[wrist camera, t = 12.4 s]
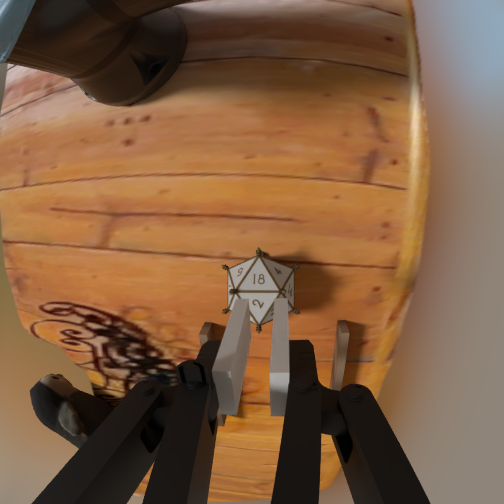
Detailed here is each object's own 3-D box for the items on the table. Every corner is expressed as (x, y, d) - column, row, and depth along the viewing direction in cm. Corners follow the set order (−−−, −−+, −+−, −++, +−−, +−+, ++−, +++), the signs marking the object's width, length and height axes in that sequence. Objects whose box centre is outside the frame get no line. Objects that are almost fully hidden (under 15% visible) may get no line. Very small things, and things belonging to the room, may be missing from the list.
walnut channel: (204, 322, 36) (198, 334, 33) (345, 320, 34) (349, 332, 31) (221, 412, 41) (217, 425, 38) (331, 412, 39) (333, 426, 36)
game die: (273, 253, 36) (323, 247, 27) (273, 319, 36) (323, 331, 27) (206, 251, 33) (240, 243, 24) (207, 324, 32) (240, 343, 23)
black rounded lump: (136, 418, 52) (119, 466, 43) (60, 380, 51) (41, 424, 42) (124, 399, 39) (100, 466, 29) (30, 348, 38) (2, 404, 28)
